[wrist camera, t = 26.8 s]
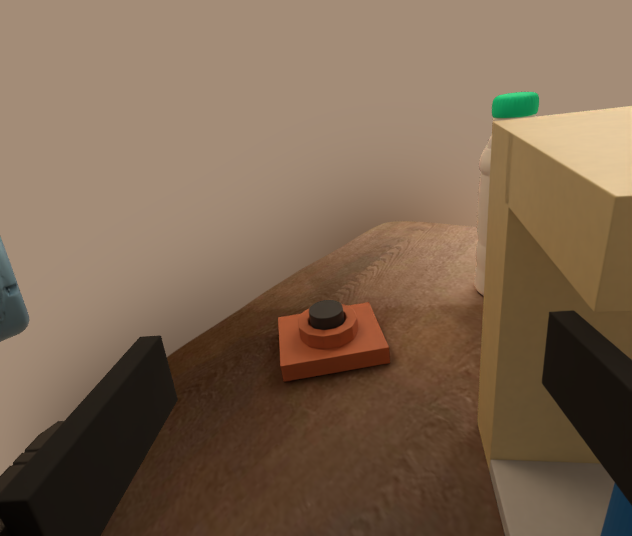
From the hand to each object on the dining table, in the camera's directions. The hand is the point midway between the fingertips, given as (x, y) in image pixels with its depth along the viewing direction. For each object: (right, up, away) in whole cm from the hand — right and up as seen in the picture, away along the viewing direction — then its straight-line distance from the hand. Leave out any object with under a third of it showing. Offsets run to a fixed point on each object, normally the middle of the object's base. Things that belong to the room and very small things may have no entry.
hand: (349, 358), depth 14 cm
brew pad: (+1, -6, +36) cm, 37 cm away
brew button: (0, -3, +35) cm, 35 cm away
